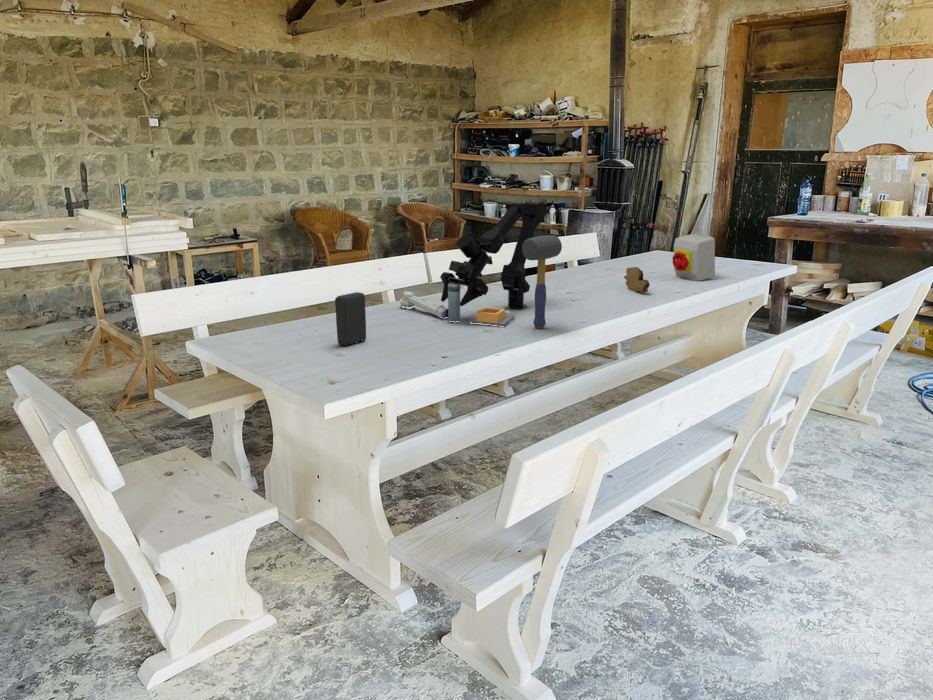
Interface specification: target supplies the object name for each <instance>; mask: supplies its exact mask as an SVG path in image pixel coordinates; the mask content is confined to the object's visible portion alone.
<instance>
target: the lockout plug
mask: <svg viewBox="0 0 933 700" xmlns="http://www.w3.org/2000/svg"><path fill="white" fill-rule="evenodd" d="M460 302H461V285H460V283H449V284H448V298H447V307H448V308H447V309H448V319H447V321H448V320H449V321H455V322H456V321H460V322H461V306H460Z"/></svg>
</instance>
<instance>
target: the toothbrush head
mask: <svg viewBox="0 0 933 700" xmlns="http://www.w3.org/2000/svg"><path fill="white" fill-rule="evenodd" d="M399 299H400V300H399V303H400V307H401V306H404V307H411V306H414V305H415V307H418V308H420V309H422V310H424V311H426V312H427V313H429V314H432V315H433V314H434V316H435V315H436V316H439V317H442V318H445V317H448V308H446V307H445V306H444V305H440V304H437V303H436V302H435V303H434V302H432V301H430V300H428V299H425V298H422V297H420V296H416V295H414V293H413V292H411V291H403V293H402V298H399ZM436 316H435V317H436Z"/></svg>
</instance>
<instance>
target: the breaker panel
mask: <svg viewBox="0 0 933 700" xmlns="http://www.w3.org/2000/svg"><path fill="white" fill-rule="evenodd" d="M505 309H506V308H505ZM505 309H504V308H494V307H483V308H481V309H479V310H477V311H476V313H475V317H473V318H472V319H470V320H469V323H470V322H472V323H482V324H490V325H497V326H505V325H506V324H508V323H509V322H510V321H512V320H513V319H514V318H515V319H516V315H510V311H508V310H507V311H506V310H505ZM515 319H514V320H515ZM514 320H513V321H514ZM513 321H512V322H513ZM510 323H511V322H510ZM510 323H509V324H510ZM509 324H508V325H509ZM505 327H506V326H505Z"/></svg>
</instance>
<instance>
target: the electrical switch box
mask: <svg viewBox="0 0 933 700" xmlns="http://www.w3.org/2000/svg"><path fill="white" fill-rule="evenodd" d="M674 239H675V240H674V244H673V255H672V259H671V260H672V265H673V270H674V273H675V275H676V276H677V277H679V276H681V277H680V278H683V277H685V278H684V279H687V278H688V279H687V280H691V279H693V280H692V281H695V280H697V281H696V282H702V281H704V280H708V279H711V278H712V279H713V278H715V276H716V260H715V259H716V255H715V253H716V252H715V250H716V248H715V247H716V244H715V241H716V239H715V238H714V237H713V236H710V235H708V234H706V233H704V232H703V233H702V232H700V233H691V234H687V235H683V236H678V237H676V238H674ZM701 280H702V281H701Z"/></svg>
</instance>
